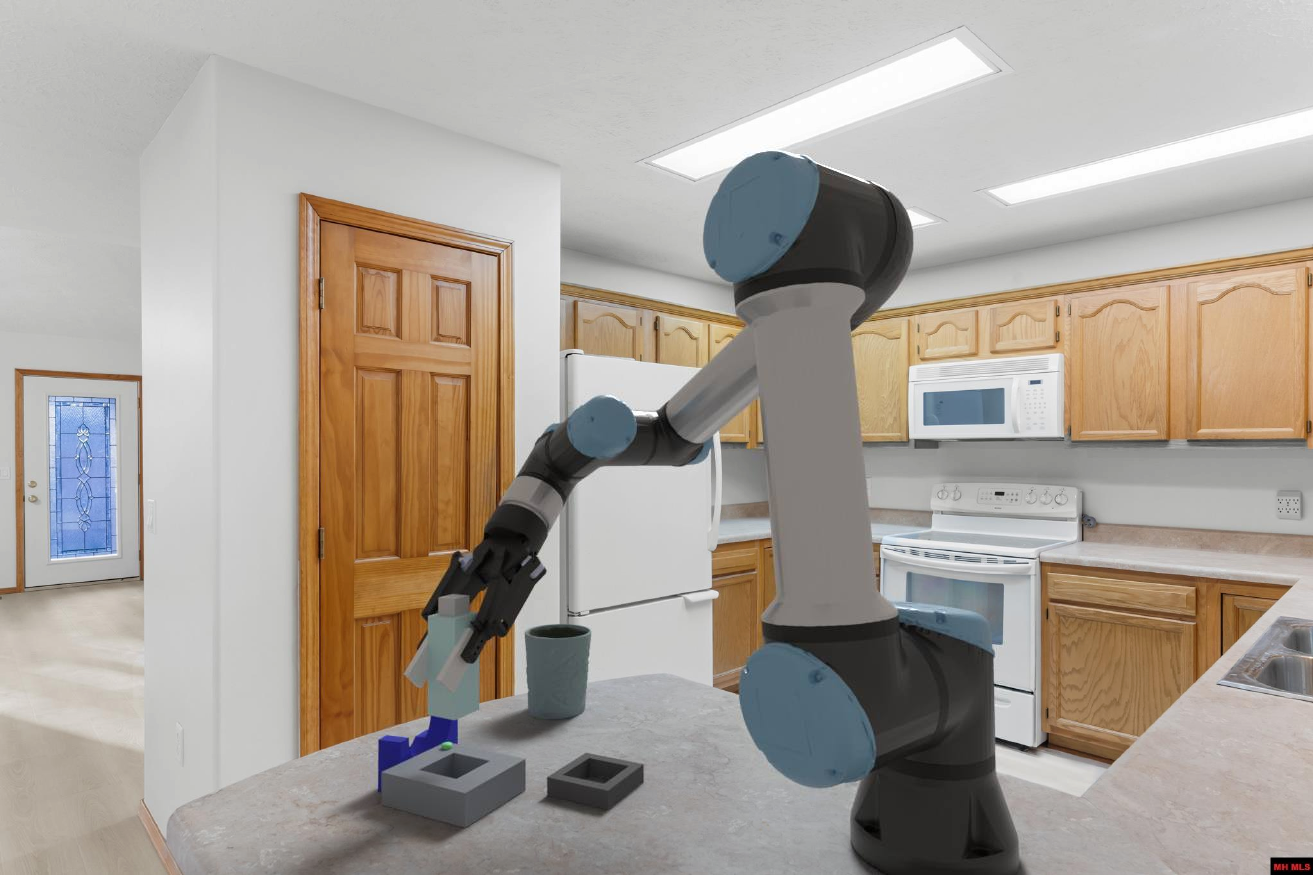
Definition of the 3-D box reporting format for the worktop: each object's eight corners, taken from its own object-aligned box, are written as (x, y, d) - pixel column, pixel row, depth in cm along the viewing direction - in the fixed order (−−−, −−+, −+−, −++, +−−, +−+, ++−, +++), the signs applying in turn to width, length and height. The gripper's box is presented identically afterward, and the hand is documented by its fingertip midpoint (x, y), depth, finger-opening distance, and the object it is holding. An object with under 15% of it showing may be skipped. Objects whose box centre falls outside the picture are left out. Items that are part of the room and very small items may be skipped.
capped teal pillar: (479, 709, 85) (479, 594, 86) (454, 720, 82) (455, 600, 82) (452, 704, 87) (453, 592, 88) (427, 714, 84) (428, 597, 84)
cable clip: (427, 752, 97) (427, 706, 97) (457, 756, 96) (457, 709, 96) (366, 791, 86) (367, 738, 86) (400, 796, 84) (400, 742, 85)
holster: (643, 781, 87) (643, 763, 87) (608, 809, 80) (607, 790, 80) (586, 769, 91) (585, 752, 91) (547, 795, 84) (547, 776, 84)
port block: (525, 789, 85) (525, 754, 85) (465, 827, 76) (465, 788, 76) (446, 770, 91) (446, 737, 91) (381, 804, 82) (381, 767, 82)
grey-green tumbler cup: (526, 701, 118) (526, 624, 118) (591, 698, 119) (590, 622, 119) (522, 722, 108) (522, 639, 108) (593, 719, 109) (592, 636, 109)
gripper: (590, 541, 95) (506, 712, 79) (485, 536, 103) (390, 691, 87) (566, 501, 90) (472, 675, 75) (458, 499, 98) (353, 655, 83)
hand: (428, 683), depth 81 cm, fingers closed on capped teal pillar, 4 cm apart
